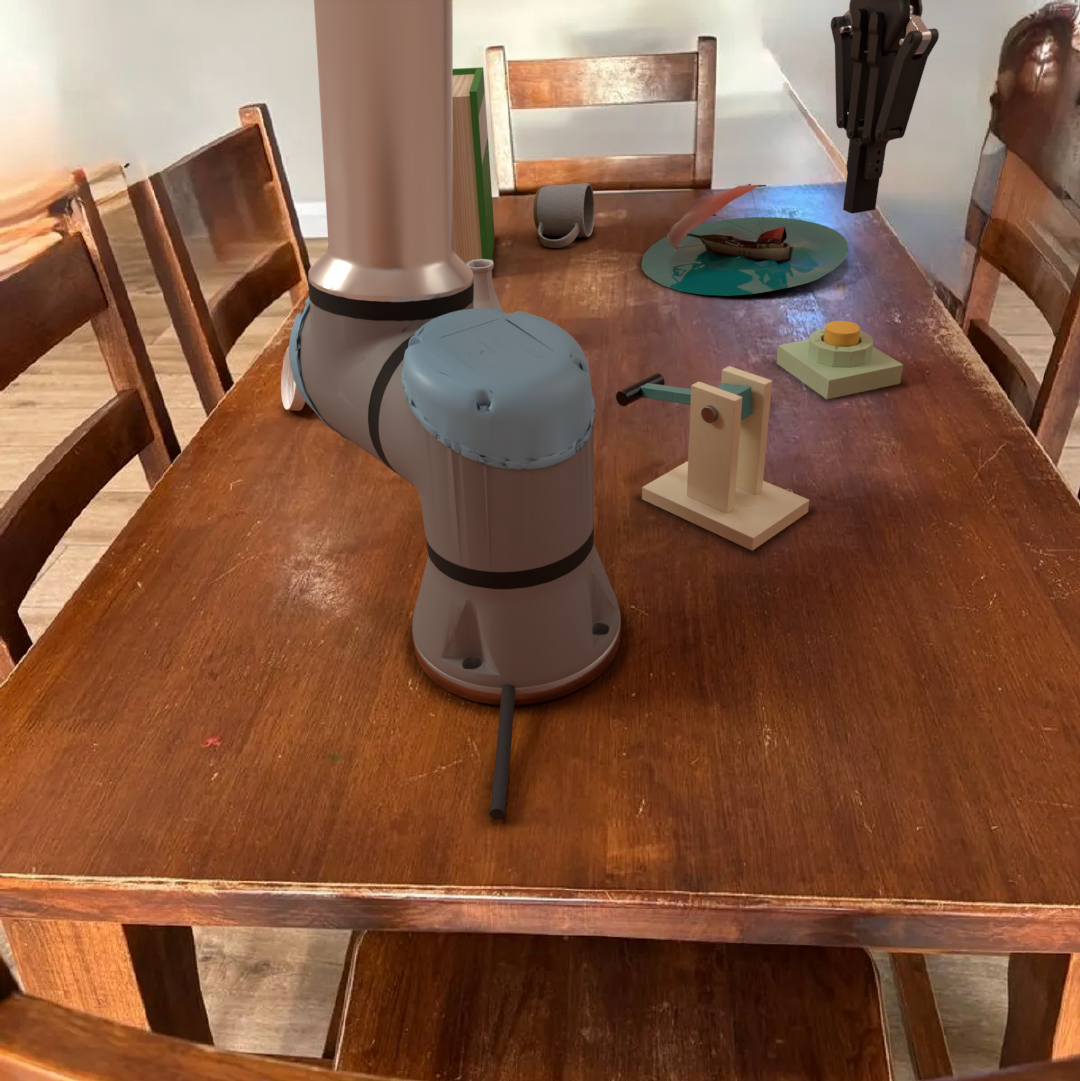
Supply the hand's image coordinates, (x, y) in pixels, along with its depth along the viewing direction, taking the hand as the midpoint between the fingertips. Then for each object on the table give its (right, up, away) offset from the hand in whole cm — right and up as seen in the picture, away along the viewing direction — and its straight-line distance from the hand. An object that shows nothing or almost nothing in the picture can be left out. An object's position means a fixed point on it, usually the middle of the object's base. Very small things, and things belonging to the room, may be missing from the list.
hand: (859, 209), depth 100 cm
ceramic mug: (-28, +13, +53) cm, 61 cm away
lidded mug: (-53, -18, +9) cm, 57 cm away
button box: (+1, -15, +10) cm, 18 cm away
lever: (-19, -21, -13) cm, 31 cm away
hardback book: (-42, +8, +47) cm, 64 cm away
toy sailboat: (-3, +6, +40) cm, 41 cm away
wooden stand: (-15, -30, -11) cm, 35 cm away
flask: (-38, -10, +20) cm, 44 cm away
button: (0, -12, +8) cm, 14 cm away
